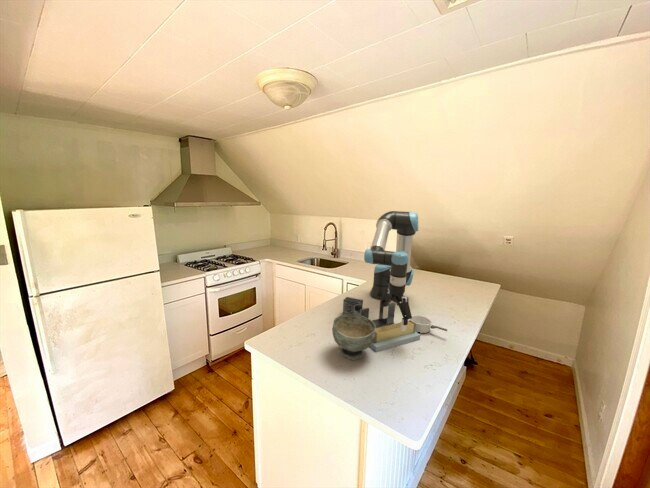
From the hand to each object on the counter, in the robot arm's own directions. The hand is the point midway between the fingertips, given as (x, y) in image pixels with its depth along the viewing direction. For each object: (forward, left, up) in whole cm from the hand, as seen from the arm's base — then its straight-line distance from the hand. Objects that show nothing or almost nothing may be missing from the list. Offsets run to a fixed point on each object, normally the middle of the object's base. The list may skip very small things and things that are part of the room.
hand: (393, 324), depth 135 cm
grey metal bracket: (-17, +1, -9) cm, 19 cm away
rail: (0, 0, -6) cm, 6 cm away
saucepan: (+1, +23, -9) cm, 25 cm away
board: (0, 0, -9) cm, 9 cm away
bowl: (+2, -25, -9) cm, 27 cm away
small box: (-31, -4, -9) cm, 32 cm away
